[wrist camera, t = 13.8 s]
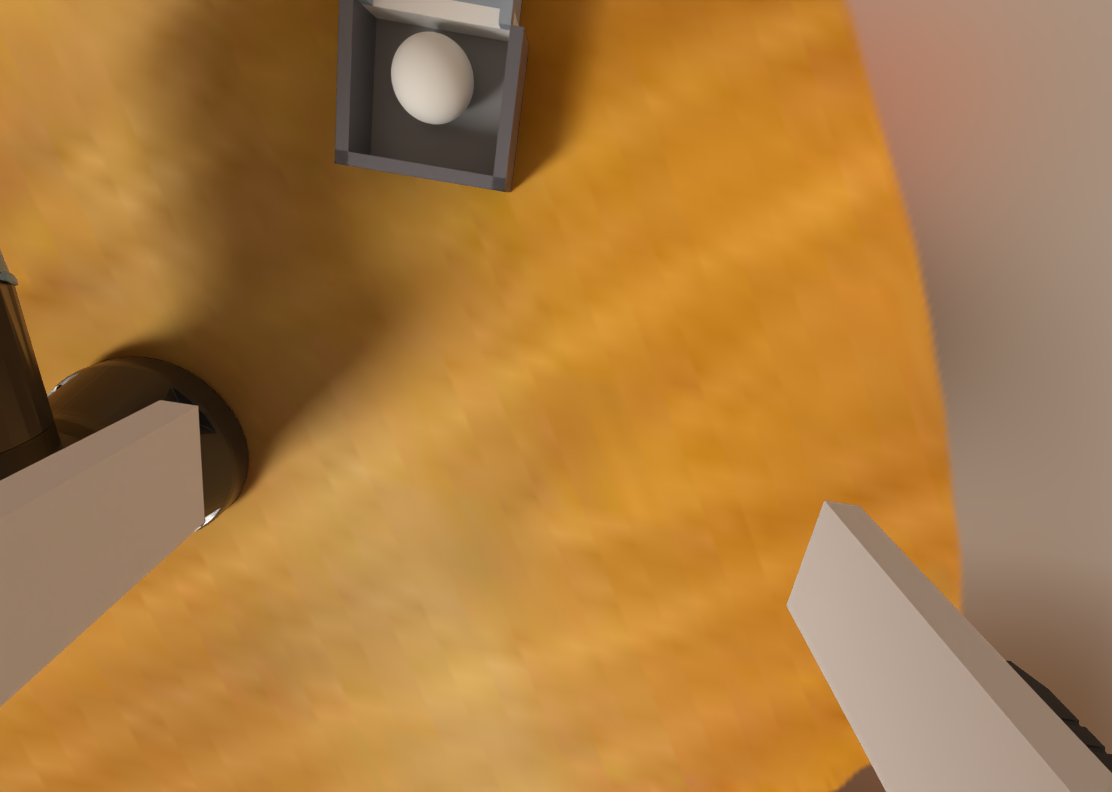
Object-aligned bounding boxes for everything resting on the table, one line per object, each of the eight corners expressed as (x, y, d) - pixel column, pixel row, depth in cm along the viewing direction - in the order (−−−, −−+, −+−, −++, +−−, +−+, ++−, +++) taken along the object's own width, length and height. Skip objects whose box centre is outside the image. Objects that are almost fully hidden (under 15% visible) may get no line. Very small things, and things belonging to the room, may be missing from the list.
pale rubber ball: (375, 86, 32) (395, 132, 37) (462, 102, 33) (470, 145, 38) (389, 3, 33) (408, 59, 38) (476, 19, 33) (482, 73, 38)
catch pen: (365, 17, 36) (339, -7, 32) (529, 46, 37) (524, 27, 33) (359, 166, 39) (334, 163, 35) (510, 192, 40) (504, 191, 36)
